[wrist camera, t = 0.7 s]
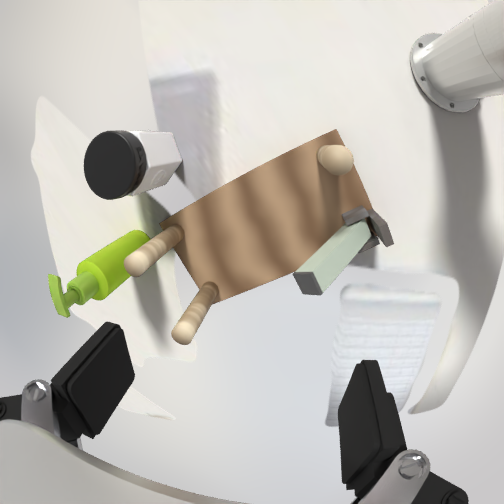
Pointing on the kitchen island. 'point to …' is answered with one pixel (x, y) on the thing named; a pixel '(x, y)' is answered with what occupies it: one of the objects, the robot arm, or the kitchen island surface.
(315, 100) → the kitchen island surface
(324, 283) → the hinged leg
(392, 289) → the kitchen island surface
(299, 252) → the stool seat
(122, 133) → the jar
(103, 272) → the soap dispenser
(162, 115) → the kitchen island surface
